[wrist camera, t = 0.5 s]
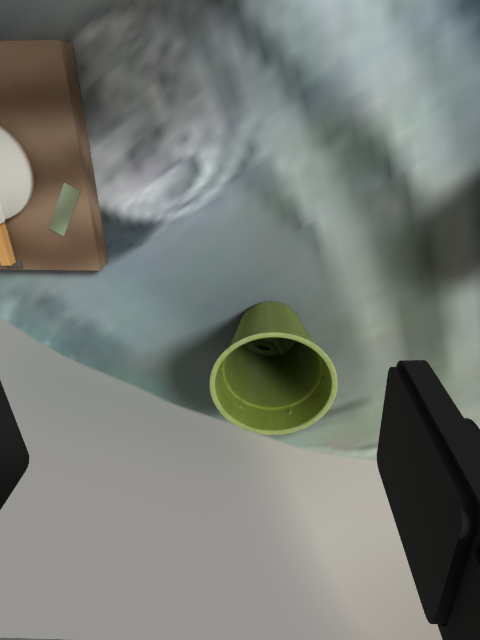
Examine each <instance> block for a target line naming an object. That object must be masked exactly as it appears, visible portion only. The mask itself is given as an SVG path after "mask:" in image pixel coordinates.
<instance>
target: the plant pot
mask: <svg viewBox="0 0 480 640" xmlns="http://www.w3.org/2000/svg"><path fill="white" fill-rule="evenodd" d="M289 339H291V340H289ZM284 344H285V345H286V346H287V348H288V349H286V347H285V345H284ZM258 345H261V346H264V347H269V348H270V350H264V349H260V348H258ZM336 392H337V374H336V370H335V368H334V365H333V363H332V362H331V360H330V358H329V357H328V356H327V354H326V353H325V352H324V351H323V350H322V349H321V348H320V347H318V346H317V345H316V344H314V343H313V342H312V341H311V339H310V337H309V335H308V333H307V332H306V330H305V328H304V326H303V324H302V323H301V321H300V319H299V317H298V316H297V314H296V313H295V312H294V311H293V310H292V309H291V308H290V307H288V306H286V305H284V304H282V303H278V302H263V303H259V304H257V305H256V306H254V307H252V308H250V309H249V310H247V311H246V312H245V314H244V315H243V317H242V318H241V320H240V323H239V325H238V328H237V330H236V332H235V335H234V337H233V340H232V342H231V344H230V346H229V347H228V348H227V349H226V350H225V351H224V352H223V353H222V354H221V355H220V356H219V358H218V359H217V361H216V362H215V364H214V366H213V368H212V371H211V375H210V393H211V397H212V400H213V402H214V404H215V406H216V407H217V409H218V410H219V412H220V413H221V414H222V415H223V416H224V417H225V418H226V419H227V420H228V421H230V422H231V423H233V424H234V425H236V426H238V427H240V428H242V429H244V430H247V431H250V432H254V433H258V434H264V435H280V434H288V433H292V432H296V431H298V430H302V429H304V428H306V427H308V426H310V425H311V424H313V423H315V422H316V421H317V420H319V419H320V418H321V417H322V416H323V415H324V414H325V413H326V412H327V411H328V409H329V408H330V406H331V405H332V403H333V401H334V399H335V396H336Z"/></svg>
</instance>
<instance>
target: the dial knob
mask: <svg viewBox="0 0 480 640" xmlns="http://www.w3.org/2000/svg"><path fill="white" fill-rule="evenodd" d="M33 190H34V175H33V170H32V166H31V163H30V161H29V158H28V156H27V154H26V152H25V150H24V149H23V147H22V146H21V144H20V143H19V142H18V141H17V140H16V138H15V137H14V136H13V135H12V134H11V133H10V132H8V131H7V130H6V129H5V128H3V127H2V126H0V263H1V266H11V265H13V264H14V263H16V260H15V257H14V253H13V250H12V246H11V242H10V239H9V235H8V231H7V228H6V224H5V219H8V218H10V217H12V216H14V215H16V214H18V213H20V212H21V211H22V210H23V209H24V208H25V207H26V206H27V205H28V203H29V201H30V199H31V197H32V194H33Z"/></svg>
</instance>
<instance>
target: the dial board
mask: <svg viewBox="0 0 480 640" xmlns="http://www.w3.org/2000/svg"><path fill="white" fill-rule="evenodd" d="M0 126H2V127H3V128H5V129H6V130H7V131H8V132H10V133H11V134H12V135H13V136H14V137H15V138H16V140H17V141H18V142H19V143H20V144H21V146H22V147H23V149H24V150H25V152H26V154H27V156H28V158H29V161H30V163H31V166H32V170H33V175H34V190H33V194H32V197H31V199H30V201H29V203H28V205H27V206H26V207H25V208H24V209H23V210H22V211H21V212H20V213H18V214H16V215H14V216H12V217H10V218H8V219H5V224H6V228H7V231H8V235H9V239H10V242H11V246H12V250H13V253H14V257H15V260H16V263H14V264H13V265H11V266H1V263H0V269H14V270H93V271H101V270H102V268H103V267H104V266H105V265H106V264H107V263H108V257H107V251H106V245H105V239H104V232H103V226H102V220H101V214H100V208H99V202H98V196H97V190H96V184H95V178H94V172H93V166H92V160H91V154H90V148H89V142H88V136H87V130H86V124H85V117H84V111H83V105H82V99H81V93H80V87H79V81H78V75H77V69H76V63H75V57H74V51H73V45H72V43H69V42H66V41H62V40H4V41H0Z"/></svg>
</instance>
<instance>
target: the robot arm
mask: <svg viewBox="0 0 480 640" xmlns="http://www.w3.org/2000/svg"><path fill="white" fill-rule="evenodd" d="M28 464H29V454H28V451H27V448H26V446H25V443H24V441H23V438H22V436H21V433H20V430H19V428H18V425H17V423H16V420H15V417H14V415H13V412H12V410H11V407H10V404H9V402H8V399H7V397H6V394H5V392H4V389H3V387H2V384H1V381H0V509H1V508H2V506H3V505H4V503H5V502H6V500H7V499H8V497H9V495H10V494H11V493H12V491H13V489H14V488H15V486H16V485H17V483H18V482H19V480H20V479H21V477H22V476H23V474H24V473H25V471H26V469H27V467H28ZM377 464H378V469H379V472H380V475H381V479H382V482H383V485H384V488H385V491H386V494H387V497H388V500H389V503H390V507H391V510H392V513H393V516H394V519H395V522H396V525H397V529H398V532H399V535H400V537H401V541H402V544H403V547H404V550H405V553H406V557H407V560H408V563H409V566H410V569H411V572H412V575H413V578H414V582H415V584H416V588H417V591H418V594H419V597H420V600H421V603H422V607H423V609H424V613H425V615H426V618H427V620H428V622H429V623H430V624H438V627H439V630H440V633H441V636H442V639H443V640H480V429H479V428H478V426H477V425H476V424H475V423H474V422H473V421H472V420H470V419H468V418H463V416H462V415H461V413H460V411H459V410H458V408H457V407H456V405H455V404H454V402H453V401H452V399H451V398H450V396H449V394H448V393H447V391H446V390H445V388H444V387H443V385H442V384H441V382H440V381H439V379H438V377H437V376H436V374H435V373H434V371H433V370H432V368H431V367H430V365H429V364H428V362H427V361H425V360H414V361H399V362H398V363H397V366H396V367H390V369H389V371H388V378H387V385H386V392H385V399H384V407H383V414H382V421H381V428H380V435H379V443H378V450H377ZM0 640H60V639H25V638H24V639H23V638H0Z"/></svg>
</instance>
